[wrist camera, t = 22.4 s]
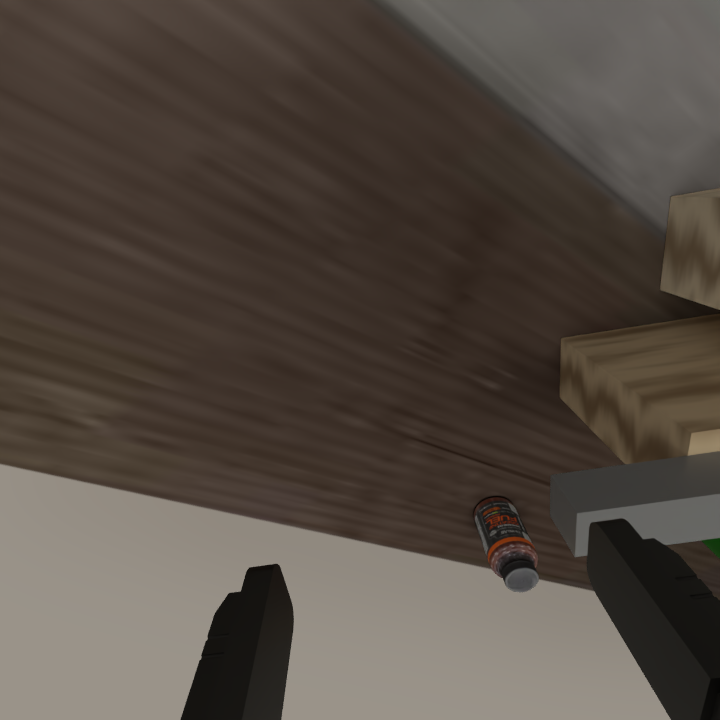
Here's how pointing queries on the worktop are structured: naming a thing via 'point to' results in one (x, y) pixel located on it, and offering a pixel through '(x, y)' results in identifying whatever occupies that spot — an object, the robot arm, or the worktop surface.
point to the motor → (713, 545)
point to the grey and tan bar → (641, 500)
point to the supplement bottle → (507, 544)
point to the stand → (658, 354)
